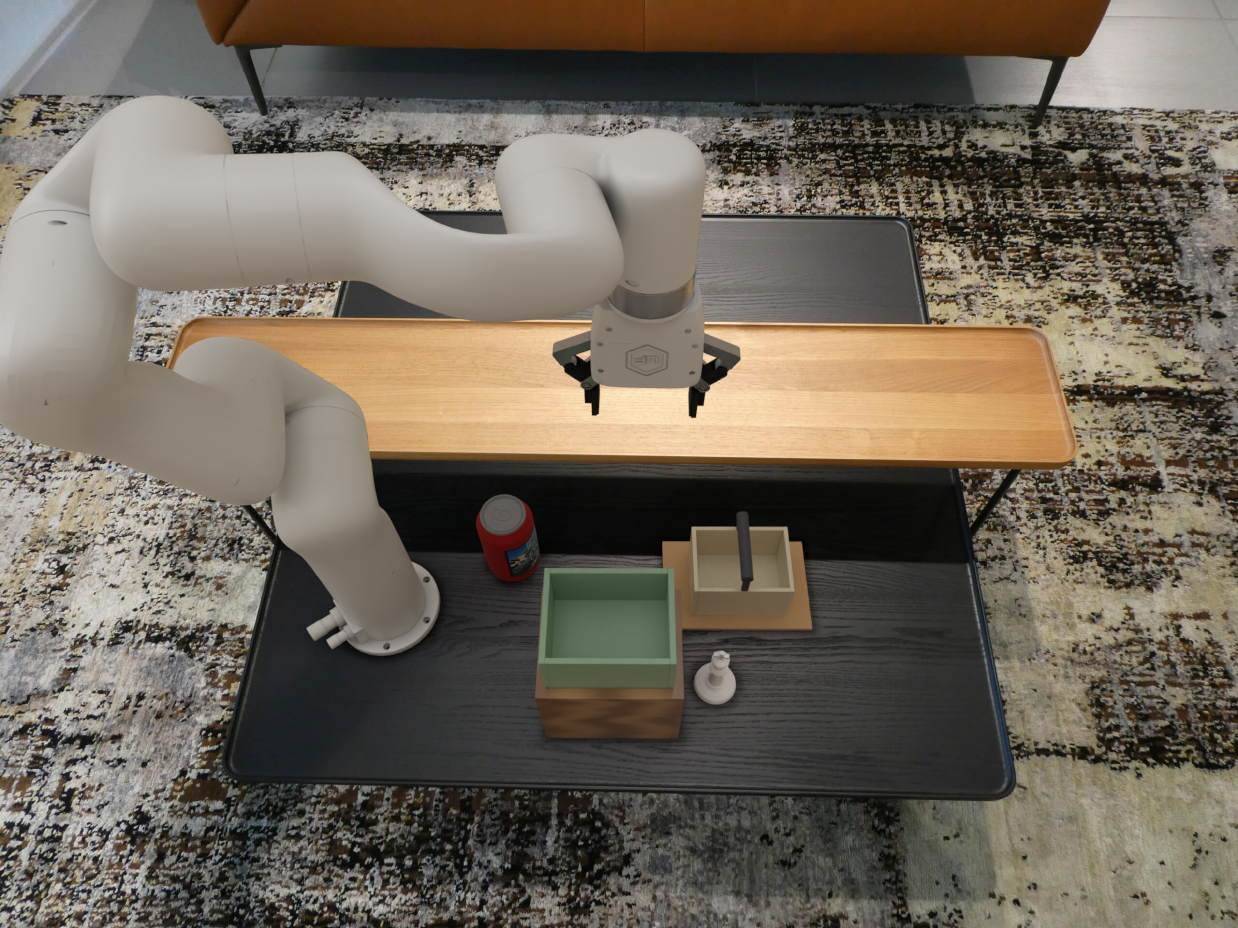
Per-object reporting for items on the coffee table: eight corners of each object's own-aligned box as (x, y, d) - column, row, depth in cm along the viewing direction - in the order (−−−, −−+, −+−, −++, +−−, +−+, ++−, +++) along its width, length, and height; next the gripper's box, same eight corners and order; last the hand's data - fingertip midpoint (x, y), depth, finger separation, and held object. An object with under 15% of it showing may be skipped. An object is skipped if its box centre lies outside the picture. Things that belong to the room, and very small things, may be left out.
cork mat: (664, 630, 103) (664, 628, 102) (662, 543, 110) (662, 541, 109) (811, 630, 103) (812, 628, 102) (800, 543, 109) (801, 541, 109)
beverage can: (533, 588, 106) (523, 543, 96) (481, 579, 107) (466, 533, 97) (546, 542, 110) (537, 494, 100) (496, 533, 111) (483, 485, 101)
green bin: (544, 688, 85) (538, 663, 79) (550, 597, 90) (544, 567, 84) (673, 688, 85) (676, 664, 79) (671, 597, 90) (673, 567, 84)
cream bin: (691, 615, 103) (696, 577, 94) (688, 553, 108) (693, 511, 99) (785, 616, 103) (800, 577, 94) (779, 553, 108) (792, 511, 99)
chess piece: (696, 660, 101) (702, 628, 92) (737, 667, 100) (747, 634, 92) (691, 700, 98) (696, 670, 90) (733, 707, 97) (743, 678, 89)
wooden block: (546, 737, 96) (534, 698, 84) (552, 638, 103) (541, 588, 91) (678, 738, 96) (684, 699, 84) (675, 638, 102) (680, 589, 91)
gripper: (542, 309, 68) (555, 434, 82) (756, 314, 68) (732, 438, 82) (549, 246, 72) (560, 374, 86) (751, 250, 72) (728, 378, 86)
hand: (643, 405), depth 84 cm, fingers open, 9 cm apart
